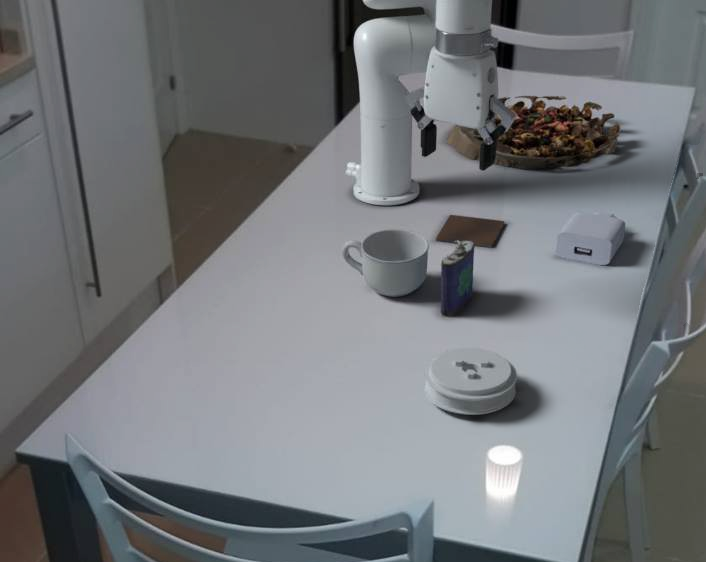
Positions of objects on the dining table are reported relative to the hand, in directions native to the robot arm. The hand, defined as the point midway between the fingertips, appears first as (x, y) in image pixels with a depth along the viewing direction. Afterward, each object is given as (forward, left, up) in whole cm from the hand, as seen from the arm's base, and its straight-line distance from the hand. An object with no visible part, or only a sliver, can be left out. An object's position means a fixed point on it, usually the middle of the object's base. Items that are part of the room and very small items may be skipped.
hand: (457, 160), depth 161 cm
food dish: (-19, +68, -23) cm, 74 cm away
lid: (+16, -23, -23) cm, 36 cm away
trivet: (-9, +23, -23) cm, 33 cm away
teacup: (-11, -2, -23) cm, 25 cm away
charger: (+12, +30, -23) cm, 39 cm away
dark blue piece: (+2, -1, -23) cm, 23 cm away
